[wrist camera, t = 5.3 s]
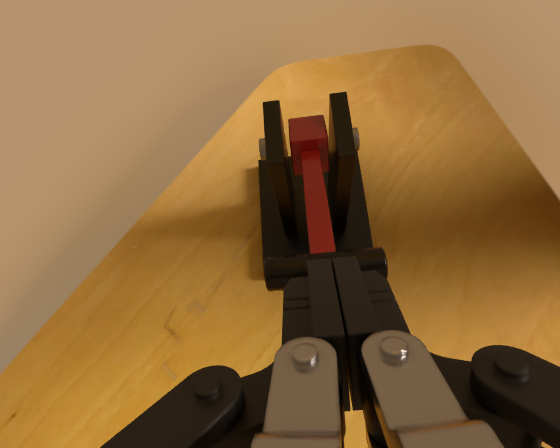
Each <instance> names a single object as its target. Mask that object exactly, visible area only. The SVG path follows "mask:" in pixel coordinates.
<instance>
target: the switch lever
mask: <svg viewBox="0 0 560 448" xmlns="http://www.w3.org/2000/svg"><path fill="white" fill-rule="evenodd" d="M288 122H289V138H290V149H291V157H292V165H293V173H294V175H301V174H303V185H304V195H305V206H306V216H307V227H308V237H309V248H310V254H301V255H290V256H279V257H269V258H265V261H264V274H265V283H266V287H267V290H268V291H280V290H284V287H285V286H286V284H287V283H288V282H289V280H290V279H291V278H298V277H308V272H307V260H318V259H328V258H330V260H331V265H332V258H338V257H348V256H356V257H357V260H358V263H359V266H360V269H361V272H362V271H372V270H376V271H377V272H379V273H380V274H381V275H382V276H384V277H385V278H386V279H387V276H388V267H387V259H386V255H385V252H384V250H383V248H382V247H376V248H365V249H354V250H344V251H336V249H335V243H334V237H333V231H332V225H331V219H330V213H329V207H328V200H327V194H326V188H325V182H324V176H323V172H328V171H329V147H328V135H327V130H326V125H325V120H324V116H323V115H317V116H308V117H300V118H292V119H289V120H288ZM332 271H333V270H332Z"/></svg>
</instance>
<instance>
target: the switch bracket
mask: <svg viewBox="0 0 560 448" xmlns="http://www.w3.org/2000/svg"><path fill="white" fill-rule="evenodd" d="M263 114H264V132H265V138H263V139H259V150H260V156H261V160H258V163H259V183H260V203H261V224H262V244H263V265H264V261H265V258H269V257H279V256H290V255H301V254H310V248H309V237H308V227H307V216H306V206H305V195H304V185H303V174H301V175H294V173H293V165H292V157H291V156H290V157H288V151H287V145H286V139H285V133H284V127H283V121H282V114H281V108H280V102H279V100H276V101H268V102H263ZM358 150H359V133H358V129H357V128H352V123H351V117H350V111H349V105H348V99H347V93H346V92H340V93H332V94H330V96H329V171H328V172H323V176H324V182H325V188H326V194H327V200H328V207H329V213H330V219H331V225H332V231H333V237H334V243H335V249H336V251H344V250H354V249H365V248H373V244H372V238H371V231H370V225H369V219H368V213H367V207H366V201H365V195H364V189H363V183H362V177H361V171H360V165H359V159H358V153H357V151H358ZM264 277H265V274H264Z"/></svg>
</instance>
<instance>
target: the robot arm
mask: <svg viewBox="0 0 560 448" xmlns="http://www.w3.org/2000/svg"><path fill="white" fill-rule="evenodd" d="M332 270H333V271H332ZM307 272H308V277H298V278H291V279H290V280H289V282H288V283H287V284H286V286H285V287H284V298H283V300H284V301H283V326H282V346H281V347H280V348H279V350H278V351H277V353H276V355H275V358H274V362H273V363H272V364H271V365H269V366H268V367H266V368H265V369H263V370H261V371H259V372H256V373H253V374H250V375H248V376H245V377H242V378H240V376H239V374H238V373H237V372H236V371H235V370H233V369H231V368H229V367H226V366H219V365H218V366H209V367H205V368H202V369H200V370H197V371H196V372H194V373H192V374H191V375H189V376H188V377H187V378H186V379H184V380H183V381H182V382H181V383H179V384H178V385H177V386H176V387H174V388H173V389H172V390H171V391H169V392H168V393H167V394H166V395H165V396H163V397H162V398H161V399H160V400H158V401H157V402H156V403H155V404H153V405H152V406H151V407H150V408H148V409H147V410H146V411H145V412H143V413H142V414H141V415H140V416H139V417H137V418H136V419H135V420H134V421H132V422H131V423H130V424H129V425H127V426H126V427H125V428H124V429H122V430H121V431H120V432H119V433H117V434H116V435H115V436H114V437H113V438H111V439H110V440H109V441H108V442H106V443H105V444H104V445H103V446H101V447H100V448H344V436H345V431H346V426H345V414H344V411H350V399H349V390H350V396H351V401H352V407H353V410H363V413H364V418H365V423H366V440H367V444H368V448H544V447H542V446H541V444H542V441H543V442H545V443H546V444H548V445H550V446H551V447H553V448H560V367H558V366H556V365H554V364H552V363H550V362H548V361H546V360H543V359H541V358H539V357H537V356H535V355H533V354H530V353H528V352H526V351H524V350H521V349H518V348H515V347H510V346H503V345H492V346H487V347H483V348H481V349H479V350H478V351H476V352H475V353H474V355H473V357H472V361H471V362H470V361H464V360H457V359H451V358H446V357H442V356H438V355H435V354H433V353H431V352H429V351H428V350H427V348H426V346H425V345H424V344H423V343H422V342H421V341H420V340H419V339H418V338H416V337H415V336H413V335H411V333H410V331H409V329H408V327H407V324H406V322H405V320H404V317H403V315H402V313H401V310H400V308H399V306H398V304H397V301H396V300H395V297H394V294H393V292H392V291H391V288H390V285H389V283H388V281H387V279H386V278H385V277H384V276H382V275H381V274H380V273H379V272H377V271H376V270H372V271H362V272H361V269H360V266H359V263H358V260H357V257H356V256H348V257H338V258H332V265H331V260H330V258H328V259H318V260H307ZM348 384H349V385H348Z"/></svg>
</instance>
